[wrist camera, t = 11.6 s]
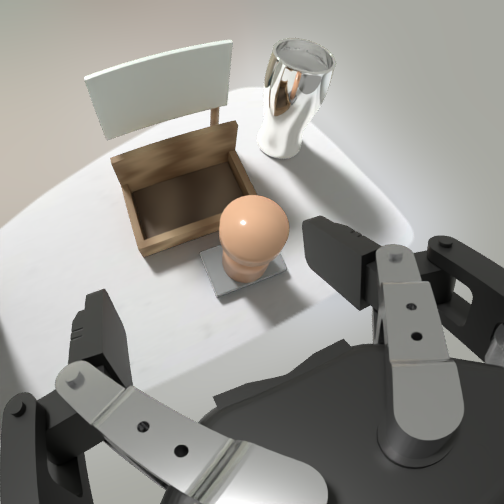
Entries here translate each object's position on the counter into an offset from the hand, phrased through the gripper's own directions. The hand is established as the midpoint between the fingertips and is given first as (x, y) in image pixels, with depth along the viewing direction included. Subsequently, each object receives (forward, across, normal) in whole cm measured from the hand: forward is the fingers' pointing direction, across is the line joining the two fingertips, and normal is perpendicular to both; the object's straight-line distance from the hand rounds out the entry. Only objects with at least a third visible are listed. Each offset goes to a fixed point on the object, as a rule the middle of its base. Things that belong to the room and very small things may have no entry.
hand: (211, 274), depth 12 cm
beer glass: (+29, -17, +2) cm, 34 cm away
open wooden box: (+27, -3, +4) cm, 27 cm away
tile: (+19, -6, +12) cm, 23 cm away
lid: (+26, -3, -5) cm, 27 cm away
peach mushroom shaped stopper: (+18, -6, +11) cm, 22 cm away
